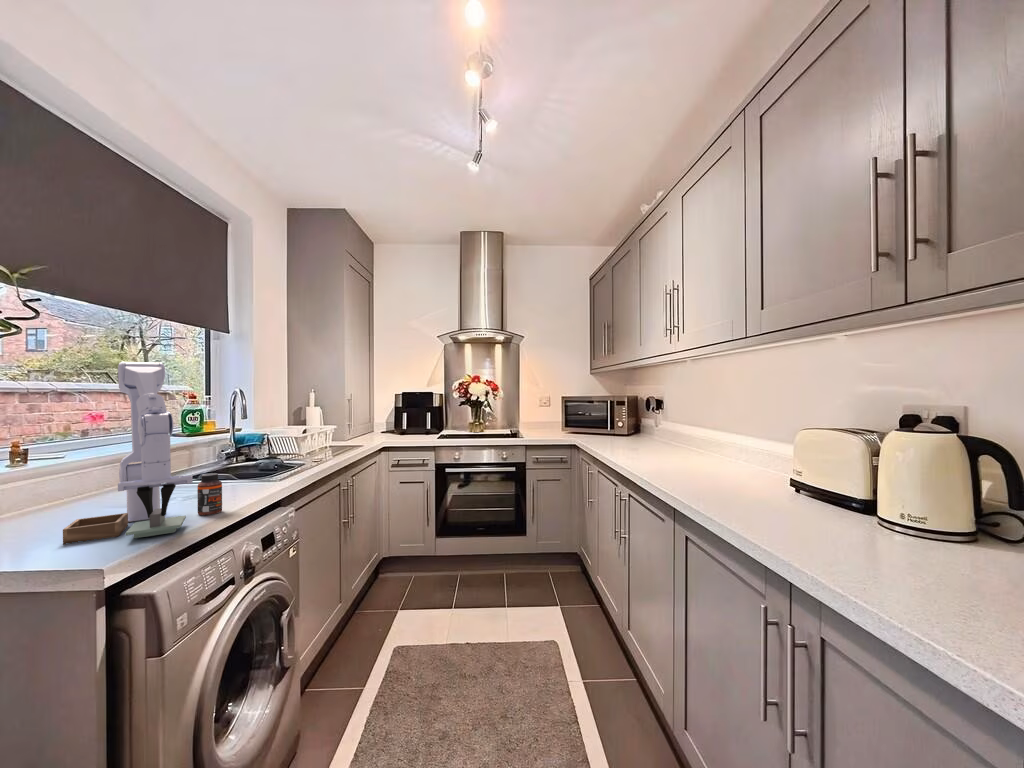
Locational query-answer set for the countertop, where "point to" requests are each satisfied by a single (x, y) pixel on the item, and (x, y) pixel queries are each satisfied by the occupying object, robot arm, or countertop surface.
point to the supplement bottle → (209, 495)
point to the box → (95, 528)
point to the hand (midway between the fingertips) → (157, 515)
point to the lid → (156, 525)
